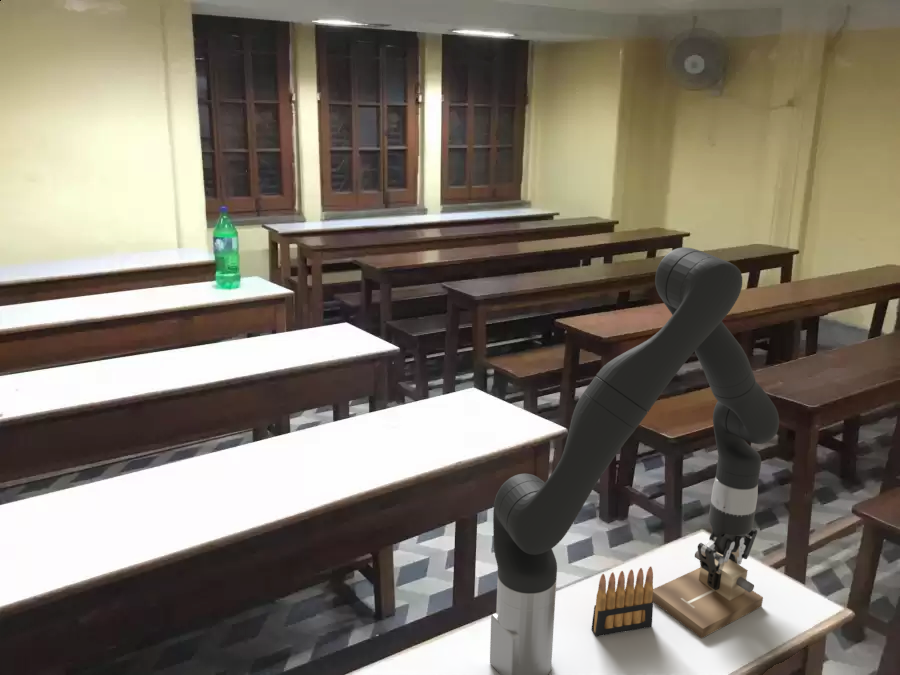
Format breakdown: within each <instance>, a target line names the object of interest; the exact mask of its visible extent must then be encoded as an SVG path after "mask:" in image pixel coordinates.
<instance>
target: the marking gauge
mask: <svg viewBox="0 0 900 675" xmlns="http://www.w3.org/2000/svg"><path fill="white" fill-rule="evenodd" d="M717 553H718V552H717ZM718 554H720V553H718ZM720 555H721V554H720ZM721 556H723V555H721ZM694 558H695V559H697V560H698V561H700V559H699V553H698V550H697V551H695V553H694ZM715 565H718V561H717V560H716V559H715ZM699 568H700V574H699V580H700V581H701V582H703V583H704V584H706V585H707V586H709V585H708V584H707V580H708V571H706V570H705V569H703V568H702V567H701V566H700V567H699ZM721 573H722V574H721V581H720V588H719V589H718V590H714V589H713V588H711V587H710V586H709V587H710V588H711V589H713V590H714V591H716V592H717V593H719V594H720V595H722V596H723V597H725V598H726V599H728V600H729V601H730V600H732V599H734V598H736V597H738V596H740V595H742V594H744V590H746V591H748V592H751V591H754V589H755V584H753V583H752V582H750V581H749V580H748V579H747V578H748V569H747V568H745V567H744V566H742V565H741V564H740V565H738V564H737V563H735V562H734V561H732V560H730V559H728V562H727V563H724V567H723V570H722V572H721Z"/></svg>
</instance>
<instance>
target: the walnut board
mask: <svg viewBox="0 0 900 675" xmlns="http://www.w3.org/2000/svg"><path fill="white" fill-rule="evenodd" d="M699 574H700V567H699V568H696V569H694V570H692V571H689V572H687V573H685V574H683V575H681V576H678V577H676V578H674V579H672V580H671V581H668V582H665V583H663V584H661V585H659V586H657V587H655V588H653V596H652V602H653V604H654V603H655V604H656V605H657V606H658V607H660V608H661V609H662V610H664V611H665V612H666V613H667V614H669V615H670V616H671V617H673V618H674V619H676V621H677V622H679V623H680V624H682V625H683V626H685V627H686V628H688V629H689V630H690V631H691V632H693V633H694V634H695V635H696V636H698V637H699V638H701V639H703V638H705V637H706V636H709V635H710V634H712V633H714V632H716V631H718V630H720V629H722V628H724V627H726V626H727V625H730V624H731V623H734V622H735V621H737V620H739V619H741V618H743V617H744V616H747V615H748V614H750V613H752V612H754V611H756V610H758V609H759V608H762V606H763V601H764V600H763V599H764V597H763V596H762V595H760V594H758V593H757V592H756V591H754V590H752V591H751V592H748V591H746V590H744V594H742V595H740V596H738V597H736V598H734V599H732V600H730V601H729V600H728V599H726V598H725V597H723V596H722V595H720V594H719V593H717V592H716V591H714V590H713V589H711V588H710V587H709V586H707V585H706V584H704V583H703V582H701V581H700V580H699Z"/></svg>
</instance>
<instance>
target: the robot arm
mask: <svg viewBox="0 0 900 675" xmlns="http://www.w3.org/2000/svg"><path fill="white" fill-rule="evenodd" d="M654 283H655V288H656V289H655V290H656V291H657V294H658V296H659V298H660V299H661V301H662V302H663V304H664V305H665V307H666V308H667V309H668V311H669V312H670V314H671V317H670V318H669V319H668V320H667V321H666V323H665V324H664V325H663V326H662V327H661V328H660V329H659V331H658V332H656V333H655V334H654V335H652V336H651V337H650V338H648V339H647V340H644V341H643V342H642V343H640V344H638V345H636V346H634V347H632V348H630V349H628V350H627V351H625V352H623V353H621V354H620V355H617V356H616V357H614V358H613V359H611V360H610V361H608V362H607V363H606V364H604V365H603V366H602V367H601V368H600V370H599V371H598V372H597V373H596V375H595V376H594V377H593V379H592V380H591V382H590V383H589V384H588V386H587V387H586V389H585V390H584V391H583V392H582V394H581V396H580V398H578V401H577V403H576V405H575V408H574V409H573V413H572V416H571V420H570V423H569V424H570V425H569V428H568V433H567V437H566V441H565V445H564V449H563V452H562V454H561V457H560V459H559V461H558V463H557V464H556V466H555V468H554V470H553V471H552V472H551V474H550V475H549V477H548V478H547V479H546V481H544V480H542V479H541V478H540V477H539V476H536V475H534V474H531V473H519V474H516V475H513V476H511V477H509V478H508V479H507V480H505V481H504V483H503V484H501V485H500V488H498V491H497V493H496V495H495V499H494V503H493V510H492V511H493V512H492V513H493V514H492V516H493V517H492V518H493V522H492V523H493V525H492V526H493V527H492V528H493V533H492V534H493V551H494V558H495V561H496V566H497V582H496V583H497V588H496V609H495V611H496V613H493V614H491V615H490V616H491V617H490V647H489V649H490V650H489V664H490V665H492V667H493V668H494V669H495V670H496V671H497V673H498V674H499V675H550V673H551V670H552V658H553V657H552V656H553V646H554V645H553V643H554V628H555V627H554V625H555V612H556V611H555V608H556V593H557V578H558V576H557V575H558V563H557V559H556V555H555V553H554V551H553V548H555V547H556V546H557V545H558V544H559V543H561V541H562V540H563V539H564V537H565V536H566V535H567V533H568V532H569V530H570V529H571V527H572V526H573V523H574V522H575V520H576V519H577V517H578V515H579V514H580V512H581V510H582V509H583V506H584V505H585V503H586V501H587V500H588V498H589V497H590V495H591V493H592V492H593V489H594V488H595V487H596V485H597V484H598V482H599V480H600V479H601V477H602V476H603V475H604V473H605V471H606V470H607V469H608V468H609V466H610V464H611V463H612V462H613V461H614V459H615V457H616V456H617V454H618V453H619V451H620V450H621V448H623V446H624V444H625V443H626V442H627V441H628V439H629V438H630V437H631V436H632V435H633V434H634V432H635V431H636V429H637V428H638V427H639V426H640V424H641V423H642V421H643V420H644V419H645V417H646V416H647V414H648V413H649V412H650V410H651V409H652V407H653V405H654V404H655V403H656V401H657V400H658V398H659V397H660V396H661V394H662V393H663V391H664V390H665V389H666V388H667V386H668V385H669V384H670V382H671V381H672V380H673V378H675V376H676V374H678V372H679V370H681V368H682V367H683V366H684V364H685V363H686V362H687V361H688V359H689V358H690V357H691V356H692V355H693V354H695V355H696V358H697V359H698V361H699V363H700V366H701V367H702V370H703V373H704V376H705V377H706V381H707V382H708V386H709V388H710V390H711V393H712V394H713V396H714V398H715V399H716V400H717V402H716V403H715V406H714V408H713V413H712V424H713V425H712V426H713V431H714V438H715V444H716V450H717V463H716V471H715V472H716V473H715V477H714V482H713V485H712V491H711V497H710V498H711V499H710V504H709V505H710V506H709V513H708V523H709V525H710V527H711V529H712V530H711V534H710V535H709V540H708V541H707V542H706V543H702V542H699V543H698V545H697V551H698V553H699V559H700V560H699V563H700V565H699V566H700V567H702V568H703V569H705V570H706V571H708V580H707V584H708V585H709V586H710V587H711V588H713V589H714V590H718V589H719V588H720V581H721V574H722V573H721V572H722V570H723V567H724V563H727V562H728V559H730V560H732V561H734V562H735V563H737V564H738V565H740V566H741V564H742V563H743V562H742V561H743V559H744V560H747V559H748V558H749V555H750V553H751V550H752V548H753V545H754V542H755V539H756V537H757V535H758V529H756V528H754V521H755V515H756V509H757V502H758V496H759V494H758V493H759V492H758V490H759V488H758V486H759V480H760V479H759V478H760V473H761V467H762V457H761V455H760V453H759V452H758V451H757V450H756V449H755V448H754V447H752V446H751V445H750V444H748V442H749V443H752V444H756V445H763V444H767V443H769V442H771V441H772V440H773V439H774V438H775V436H776V435H777V433H778V430H779V428H780V427H779V426H780V417H779V412H778V409H777V407H776V405H775V404H774V402H773V401H772V400H771V398H770V397H769V395H768V394H767V393H766V392H765V390H764V389H763V387H762V386H761V385H760V384H759V383H758V382H757V381H756V377H755V375H754V371H753V369H752V366H751V363H750V360H749V358H748V356H747V354H746V352H745V350H744V349H743V347H742V346H741V344H740V343H739V342H738V339H736V337H734V335H733V333H731V331H730V330H729V329H728V327H727V326H726V325H725V324H724V322H723V320H724V319H725V318H726V317H727V315H728V314H729V313H730V312H731V311H732V309H733V307H734V305H735V304H736V303H737V301H738V298H739V296H740V295H741V291H742V287H743V275H742V271H741V270H740V269H739V267H738V266H737V265H735V264H734V263H733V262H732V263H731V262H730V261H727V260H725V259H722V258H720V257H718V256H715V255H712V254H710V253H707V252H704V251H702V250H698V249H695V248H692V247H678V248H674V249H672V250H671V251H669V252H668V253H667V254H665V256H664V257H663V258H662V259H661V261H660V262H659V264H658V266H657V268H656V271H655V278H654ZM744 546H745V547H744ZM717 552H718V553H720V554H721V555H723V556H721V555H720V554H718V553H717ZM715 559H716V560H717V561H718V565H715Z"/></svg>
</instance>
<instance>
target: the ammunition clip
mask: <svg viewBox="0 0 900 675" xmlns="http://www.w3.org/2000/svg"><path fill="white" fill-rule="evenodd" d="M645 575H646V577H644V576H645ZM645 575H644V570H643V567H640V568H639V569H638V572H637V574H636V581H635V575H634V571H633V569H630V570H629V572H628V574H627V577H626V578H627V579H625V573H624V570H621V571H620V573H619V575H618V577H617V578H618V579H617V584H616V577H615V573H614V572H611V573H610V576H609V579H608V583H607V580H606V575H605V574H604V573H602V574H601V576H600V578H599V582H598V588H597V593H596V598H595V600H596V601H595V605H594V608H593V614H592V622H591V623H592V624H591V631H592V632H593V635H594V636H595V637H602V636H608V635H615V634H620V633H624V632H625V631H626V632H631V631H636V630H641V629H646V628H647V629H649V628H652V626H653V614H654V613H653V612H654V602H653V601H652V596H653V589H654V586H653V583H654V571H653V567H652V566H651V565H650V566H649V567H648V569H647V571H646V574H645ZM644 578H645V582H644ZM625 580H626V582H625ZM606 587H607V588H606Z"/></svg>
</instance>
